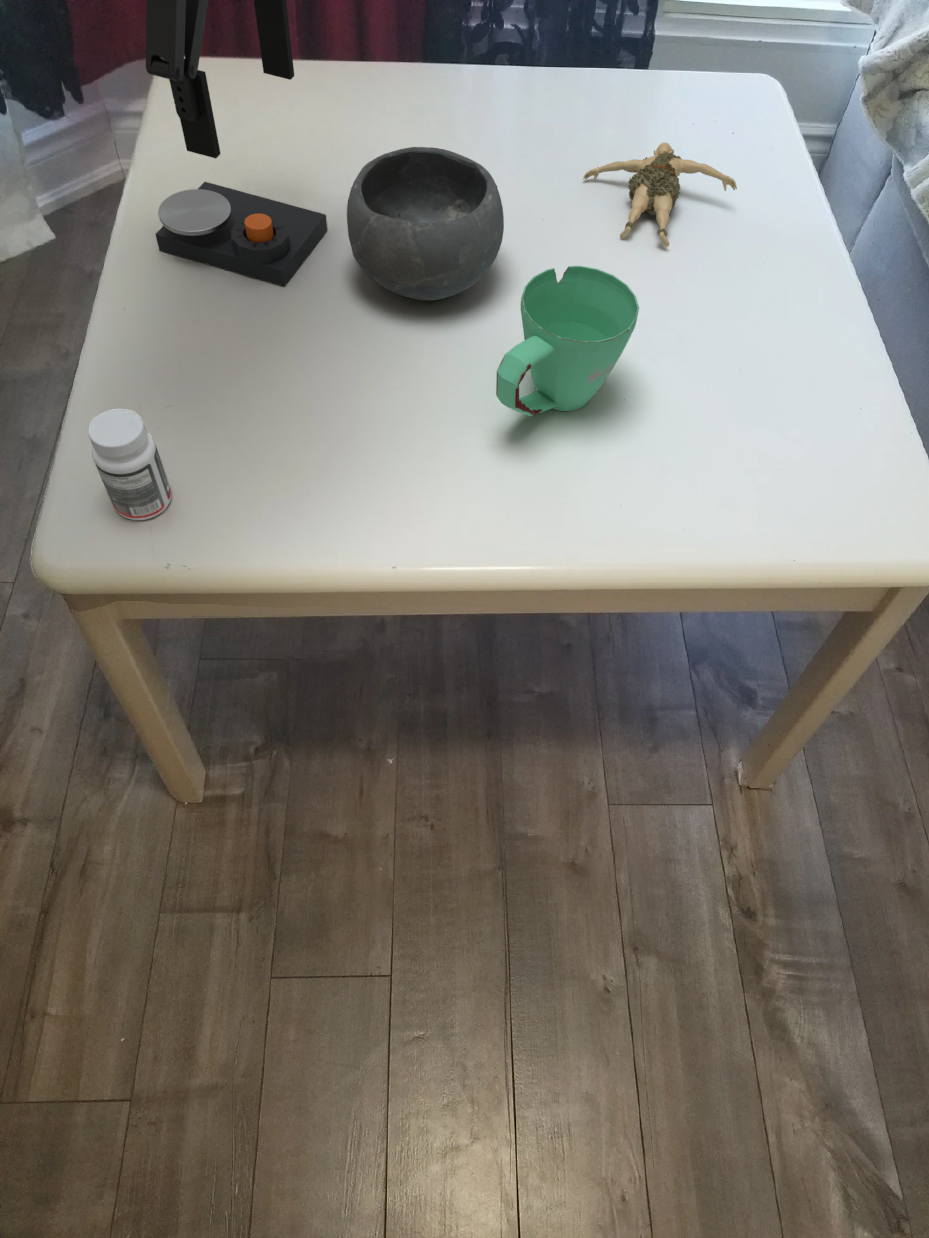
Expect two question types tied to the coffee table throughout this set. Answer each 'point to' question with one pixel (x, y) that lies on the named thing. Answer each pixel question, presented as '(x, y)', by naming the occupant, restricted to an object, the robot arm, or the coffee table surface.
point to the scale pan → (195, 212)
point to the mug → (567, 339)
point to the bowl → (425, 222)
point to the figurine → (657, 184)
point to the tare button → (259, 228)
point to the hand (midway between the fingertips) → (243, 112)
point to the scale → (253, 259)
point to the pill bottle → (129, 464)
